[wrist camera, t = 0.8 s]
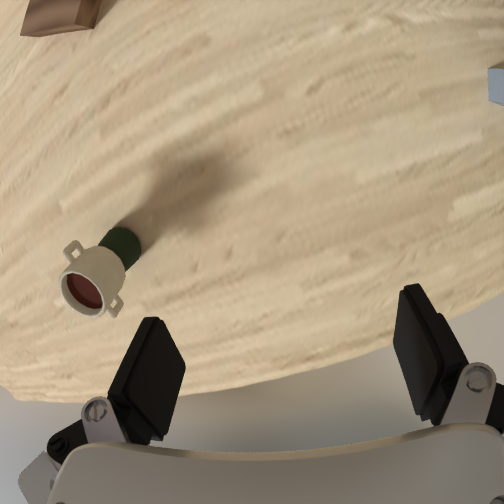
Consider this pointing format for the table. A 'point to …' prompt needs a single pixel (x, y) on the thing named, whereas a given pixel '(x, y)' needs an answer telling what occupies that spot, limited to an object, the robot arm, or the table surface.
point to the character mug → (98, 273)
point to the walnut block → (59, 16)
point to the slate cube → (496, 85)
